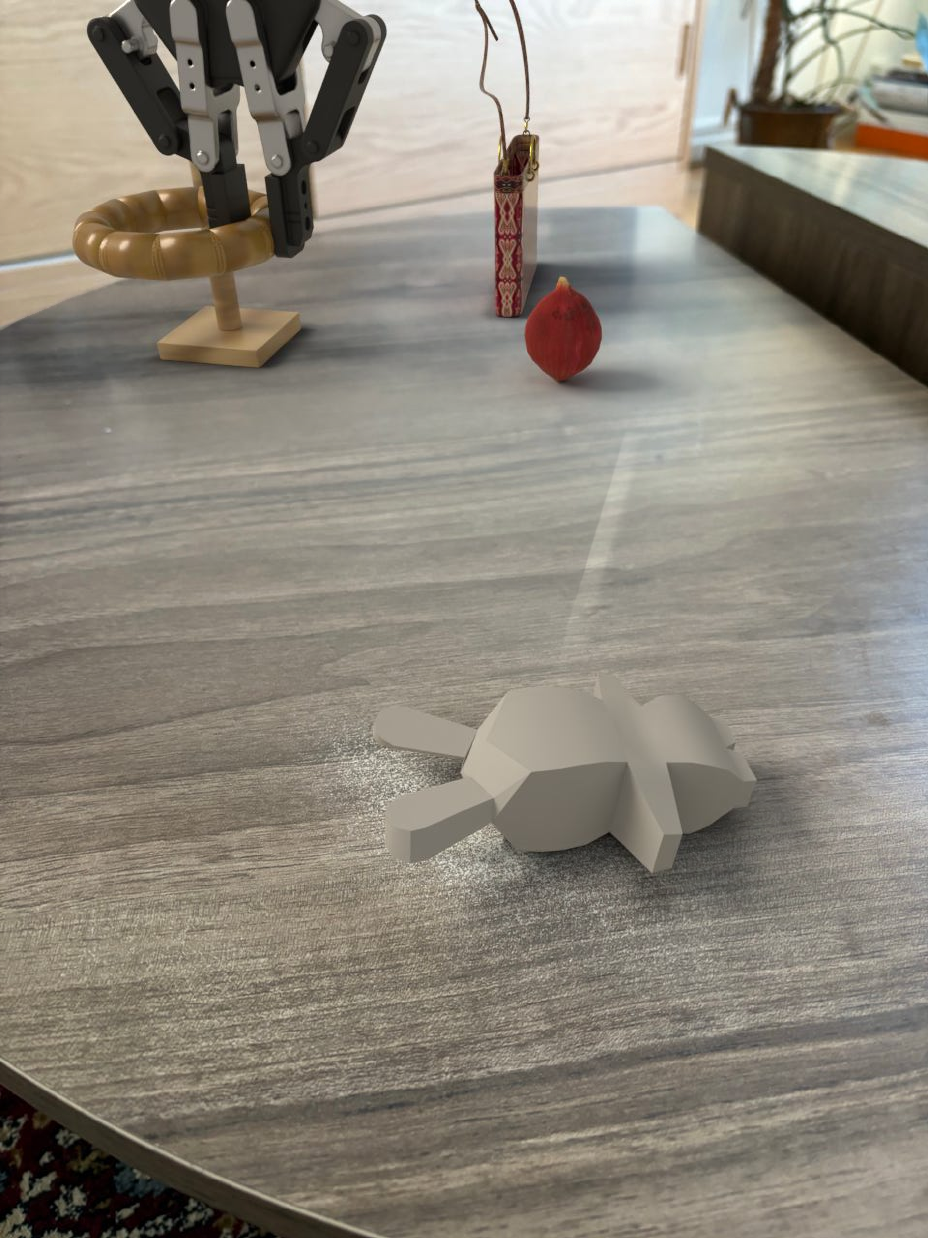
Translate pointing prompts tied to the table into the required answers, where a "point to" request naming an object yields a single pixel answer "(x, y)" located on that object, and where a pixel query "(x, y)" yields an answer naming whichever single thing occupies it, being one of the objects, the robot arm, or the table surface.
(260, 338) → the stand
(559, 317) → the onion
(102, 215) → the ring
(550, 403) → the table surface
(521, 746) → the bunny figurine
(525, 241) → the handbag
